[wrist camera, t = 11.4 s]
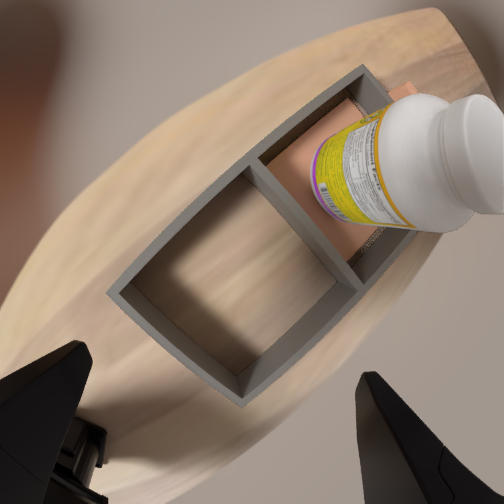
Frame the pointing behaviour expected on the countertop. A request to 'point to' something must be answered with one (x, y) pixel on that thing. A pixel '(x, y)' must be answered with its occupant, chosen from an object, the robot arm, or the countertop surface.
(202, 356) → the tray
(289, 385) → the countertop surface
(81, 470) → the robot arm
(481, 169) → the supplement bottle
